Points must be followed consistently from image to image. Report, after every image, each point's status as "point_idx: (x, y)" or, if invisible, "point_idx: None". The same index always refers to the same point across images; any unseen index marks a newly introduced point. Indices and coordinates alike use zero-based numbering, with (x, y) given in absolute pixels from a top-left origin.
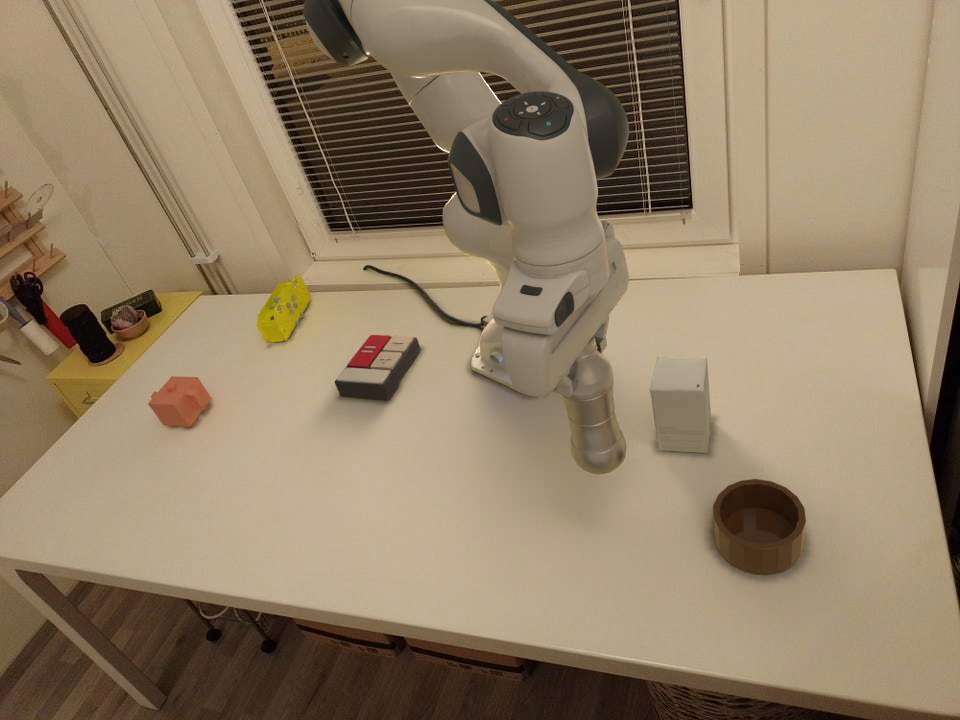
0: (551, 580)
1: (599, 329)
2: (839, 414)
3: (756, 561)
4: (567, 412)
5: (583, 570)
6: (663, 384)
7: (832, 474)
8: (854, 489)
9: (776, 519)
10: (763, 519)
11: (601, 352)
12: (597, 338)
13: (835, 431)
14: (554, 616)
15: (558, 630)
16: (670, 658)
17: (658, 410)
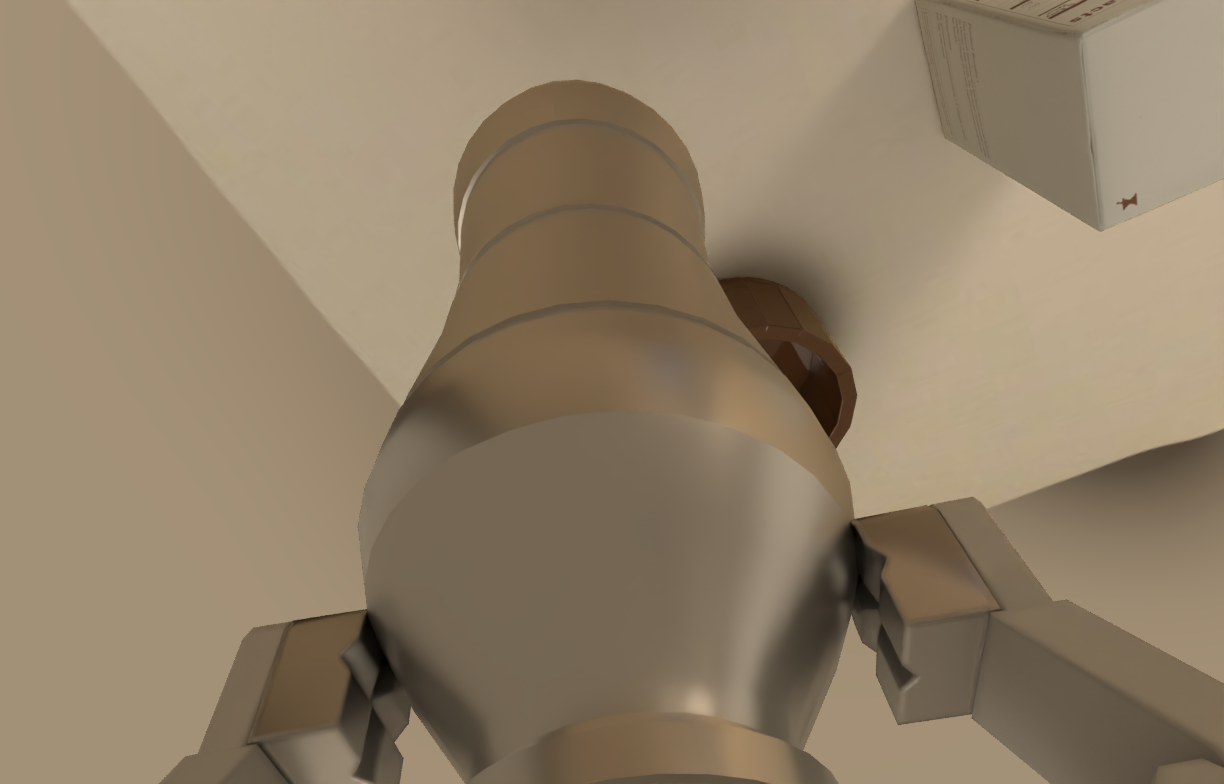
0: (307, 9)
1: (1063, 759)
2: (1153, 334)
3: None
4: (450, 309)
5: (403, 73)
6: (1122, 72)
7: (960, 393)
8: (932, 436)
9: (793, 373)
10: (782, 354)
11: (858, 627)
12: (965, 682)
13: (1094, 349)
14: (238, 99)
15: (221, 136)
16: (378, 368)
17: (1015, 42)
